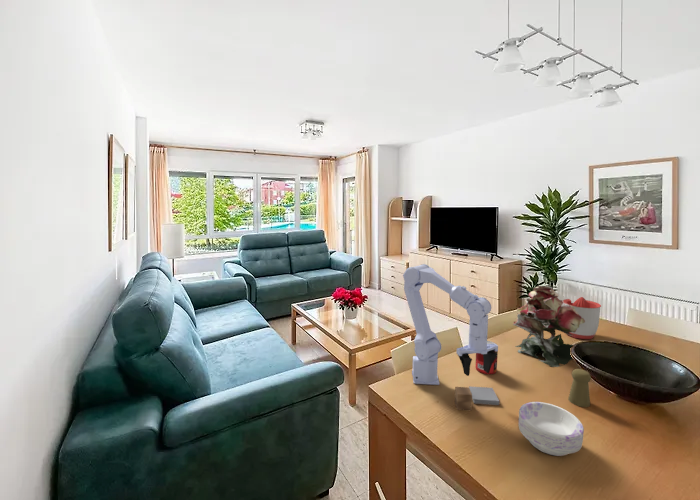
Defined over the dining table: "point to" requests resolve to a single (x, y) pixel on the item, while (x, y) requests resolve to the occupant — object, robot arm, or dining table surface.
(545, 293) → the rose bouquet
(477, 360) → the canned food
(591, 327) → the citrus juicer
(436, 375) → the robot arm
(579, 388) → the olive green pawn
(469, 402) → the walnut block
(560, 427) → the paper bowls
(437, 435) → the dining table surface
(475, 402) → the slate slab
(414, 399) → the dining table surface
